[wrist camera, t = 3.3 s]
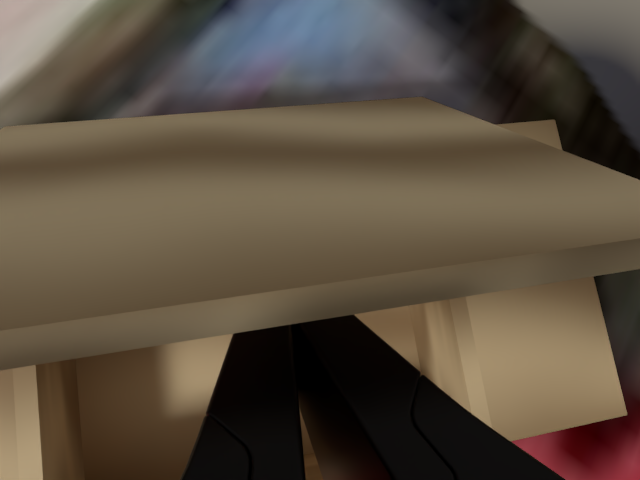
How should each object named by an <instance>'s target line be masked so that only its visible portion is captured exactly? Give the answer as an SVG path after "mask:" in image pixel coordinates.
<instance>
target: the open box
mask: <svg viewBox="0 0 640 480" xmlns="http://www.w3.org/2000/svg"><path fill="white" fill-rule="evenodd" d="M497 126H500V127H502V128H505V129H508V130H510V131H513V132H515V133H518V134H521V135H523V136H526V137H528V138H531V139H534V140H536V141H539V142H542V143H544V144H547V145H549V146H552V147H555V148H557V149H560V150H562V147H561V142H560V138H559V134H558V130H557V126H556V122H555V120H543V121H532V122H520V123H508V124H497ZM354 315H355V316H356V317H357V318H358V319H360V320H361V321H362V322H363V323H364V324H365V325H367V326H368V327H369V328H370V329H371V330H372V331H374V332H375V333H376V334H377V335H378V336H379V337H380V338H382V339H383V340H384V341H385V342H386V343H387V344H389V345H390V346H391V347H392V348H393V349H394V350H396V351H397V352H398V353H399V354H400V355H401V356H403V357H404V358H405V359H406V360H407V361H408V362H410V363H411V364H412V365H413V366H414V367H415V368H417V369H418V370H419V371H420V372H421V375H425V376H426V377H427V378H428V379H430V380H431V381H432V382H433V383H434V384H435V385H437V386H438V387H439V388H440V389H441V390H443V391H444V392H445V393H446V394H447V395H449V396H450V397H451V398H452V399H454V400H455V401H456V402H457V403H459V404H460V405H461V406H462V407H463V408H465V409H466V410H467V411H469V412H470V413H472V414H473V415H474V416H476V417H477V418H478V419H480V420H481V421H482V422H484V423H485V424H487V425H488V426H489V427H491V428H492V429H493V430H495V431H496V432H498V433H499V434H501V435H502V436H503V437H505V438H506V439H508V440H509V441H514V440H519V439H523V438H527V437H532V436H536V435H541V434H545V433H550V432H554V431H558V430H563V429H567V428H572V427H576V426H581V425H585V424H589V423H594V422H598V421H603V420H607V419H612V418H616V417H620V416H625V415H627V411H626V407H625V403H624V399H623V395H622V391H621V387H620V383H619V379H618V375H617V371H616V367H615V363H614V359H613V354H612V350H611V346H610V342H609V338H608V334H607V330H606V326H605V322H604V318H603V314H602V310H601V306H600V301H599V297H598V293H597V289H596V285H595V281H594V277H593V276H592V277H586V278H580V279H573V280H567V281H561V282H555V283H548V284H542V285H536V286H529V287H523V288H517V289H510V290H504V291H498V292H492V293H485V294H479V295H473V296H466V297H460V298H454V299H448V300H441V301H435V302H429V303H422V304H416V305H410V306H403V307H397V308H391V309H385V310H378V311H372V312H366V313H359V314H354ZM232 335H233V334H227V335H221V336H215V337H208V338H202V339H196V340H189V341H183V342H177V343H171V344H164V345H158V346H152V347H145V348H139V349H133V350H127V351H120V352H114V353H108V354H101V355H95V356H89V357H82V358H76V359H70V360H64V361H57V362H51V363H45V364H38V365H32V366H26V367H20V368H13V369H7V370H1V371H0V480H180V478H181V476H182V473H183V471H184V469H185V467H186V464H187V462H188V459H189V457H190V454H191V451H192V449H193V446H194V444H195V441H196V439H197V436H198V433H199V430H200V427H201V424H202V421H203V418H204V417H205V416H206V411H207V408H208V405H209V402H210V399H211V396H212V393H213V390H214V387H215V384H216V382H217V379H218V376H219V373H220V370H221V367H222V364H223V361H224V358H225V355H226V353H227V350H228V347H229V344H230V341H231V338H232ZM300 420H301V431H302V442H303V453H304V464H305V475H306V480H323V477H322V474H321V471H320V468H319V465H318V462H317V459H316V456H315V453H314V450H313V447H312V444H311V441H310V438H309V435H308V432H307V429H306V426H305V423H304V420H303V417H302V414H301V411H300Z"/></svg>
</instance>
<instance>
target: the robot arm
mask: <svg viewBox="0 0 640 480" xmlns="http://www.w3.org/2000/svg"><path fill="white" fill-rule="evenodd" d="M300 411H301V414H302V417H303V420H304V423H305V426H306V429H307V432H308V435H309V438H310V441H311V444H312V447H313V450H314V453H315V456H316V459H317V462H318V465H319V468H320V471H321V474H322V477H323V480H565V479H564V478H562V477H561V476H559V475H558V474H556V473H555V472H554V471H552V470H551V469H549V468H548V467H546V466H545V465H544V464H542V463H541V462H539V461H538V460H536V459H535V458H534V457H532V456H531V455H529V454H528V453H526V452H525V451H524V450H522V449H521V448H519V447H518V446H516V445H515V444H513V443H512V442H511V441H509V440H508V439H506V438H505V437H503V436H502V435H501V434H499V433H498V432H496V431H495V430H493V429H492V428H491V427H489V426H488V425H487V424H485V423H484V422H482V421H481V420H480V419H478V418H477V417H476V416H474V415H473V414H472V413H470V412H469V411H467V410H466V409H465V408H463V407H462V406H461V405H460V404H459V403H457V402H456V401H455V400H454V399H452V398H451V397H450V396H449V395H447V394H446V393H445V392H444V391H443V390H441V389H440V388H439V387H438V386H437V385H435V384H434V383H433V382H432V381H431V380H430V379H428V378H427V377H426V376H425V375H421V372H420V371H419V370H418V369H417V368H415V367H414V366H413V365H412V364H411V363H410V362H408V361H407V360H406V359H405V358H404V357H403V356H401V355H400V354H399V353H398V352H397V351H396V350H394V349H393V348H392V347H391V346H390V345H389V344H387V343H386V342H385V341H384V340H383V339H382V338H380V337H379V336H378V335H377V334H376V333H375V332H374V331H372V330H371V329H370V328H369V327H368V326H367V325H365V324H364V323H363V322H362V321H361V320H360V319H358V318H357V317H356V316H355V315H354V314H353V315H347V316H341V317H334V318H328V319H322V320H315V321H309V322H303V323H296V324H290V325H284V326H278V327H271V328H265V329H259V330H252V331H246V332H240V333H234V334H233V335H232V338H231V341H230V344H229V347H228V350H227V353H226V355H225V358H224V361H223V364H222V367H221V370H220V373H219V376H218V379H217V382H216V384H215V387H214V390H213V393H212V396H211V399H210V402H209V405H208V408H207V411H206V416H205V417H204V418H203V421H202V424H201V427H200V430H199V433H198V436H197V439H196V441H195V444H194V446H193V449H192V451H191V454H190V457H189V459H188V462H187V464H186V467H185V469H184V471H183V473H182V476H181V478H180V480H306V475H305V464H304V453H303V442H302V431H301V420H300Z"/></svg>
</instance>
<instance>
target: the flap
mask: <svg viewBox="0 0 640 480" xmlns="http://www.w3.org/2000/svg"><path fill="white" fill-rule="evenodd" d="M636 269H640V180H638V179H636V178H633V177H630V176H628V175H625V174H623V173H620V172H617V171H615V170H612V169H610V168H607V167H604V166H602V165H599V164H596V163H594V162H591V161H589V160H586V159H583V158H581V157H578V156H576V155H573V154H570V153H568V152H565V151H562V150H560V149H557V148H555V147H552V146H549V145H547V144H544V143H542V142H539V141H536V140H534V139H531V138H528V137H526V136H523V135H521V134H518V133H515V132H513V131H510V130H508V129H505V128H502V127H500V126H497V125H494V124H492V123H489V122H487V121H484V120H481V119H479V118H476V117H474V116H471V115H468V114H466V113H463V112H461V111H458V110H455V109H453V108H450V107H447V106H445V105H442V104H440V103H437V102H434V101H432V100H429V99H427V98H424V97H411V98H397V99H383V100H369V101H355V102H341V103H327V104H313V105H299V106H285V107H271V108H257V109H243V110H229V111H215V112H201V113H187V114H173V115H159V116H145V117H131V118H117V119H103V120H89V121H75V122H61V123H47V124H33V125H19V126H5V127H3V128H2V129H0V371H1V370H7V369H13V368H20V367H26V366H32V365H38V364H45V363H51V362H57V361H64V360H70V359H76V358H82V357H89V356H95V355H101V354H108V353H114V352H120V351H127V350H133V349H139V348H145V347H152V346H158V345H164V344H171V343H177V342H183V341H189V340H196V339H202V338H208V337H215V336H221V335H227V334H234V333H240V332H246V331H252V330H259V329H265V328H271V327H278V326H284V325H290V324H296V323H303V322H309V321H315V320H322V319H328V318H334V317H341V316H347V315H353V314H359V313H366V312H372V311H378V310H385V309H391V308H397V307H403V306H410V305H416V304H422V303H429V302H435V301H441V300H448V299H454V298H460V297H466V296H473V295H479V294H485V293H492V292H498V291H504V290H510V289H517V288H523V287H529V286H536V285H542V284H548V283H555V282H561V281H567V280H573V279H580V278H586V277H592V276H599V275H605V274H611V273H617V272H624V271H630V270H636Z"/></svg>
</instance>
